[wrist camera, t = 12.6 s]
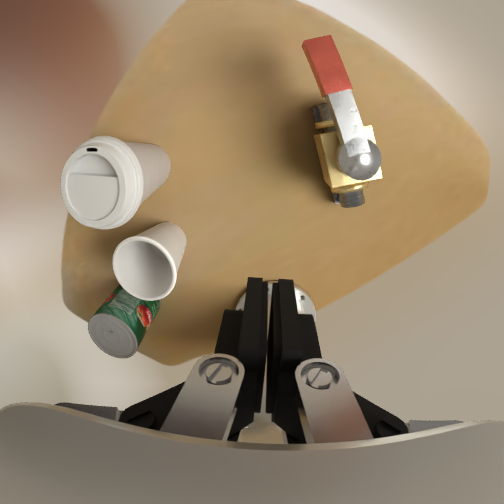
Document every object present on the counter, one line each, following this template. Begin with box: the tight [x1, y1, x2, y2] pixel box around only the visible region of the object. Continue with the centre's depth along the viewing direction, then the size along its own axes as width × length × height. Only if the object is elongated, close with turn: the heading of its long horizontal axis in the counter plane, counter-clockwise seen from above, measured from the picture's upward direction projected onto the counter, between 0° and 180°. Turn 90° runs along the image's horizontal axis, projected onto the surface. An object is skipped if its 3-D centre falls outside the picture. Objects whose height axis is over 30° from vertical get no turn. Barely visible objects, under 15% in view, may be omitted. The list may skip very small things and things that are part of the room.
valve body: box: [311, 103, 382, 208], centre depth 32 cm, size 13×6×8 cm, turn 16°
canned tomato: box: [88, 285, 161, 358], centre depth 41 cm, size 8×8×11 cm
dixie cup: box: [112, 222, 186, 301], centre depth 37 cm, size 8×8×10 cm
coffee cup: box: [61, 136, 171, 229], centre depth 31 cm, size 10×10×15 cm
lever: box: [302, 35, 381, 181], centre depth 25 cm, size 4×15×2 cm, turn 20°
